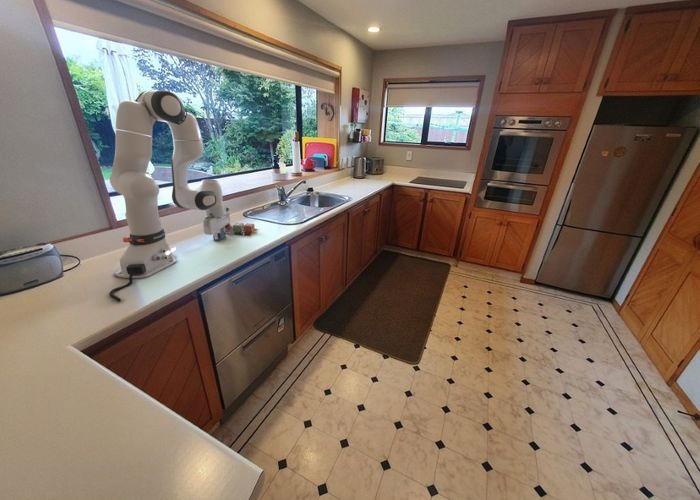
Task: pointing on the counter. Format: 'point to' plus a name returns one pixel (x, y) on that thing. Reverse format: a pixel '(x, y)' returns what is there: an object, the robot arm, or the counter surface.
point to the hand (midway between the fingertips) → (219, 236)
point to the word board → (231, 232)
